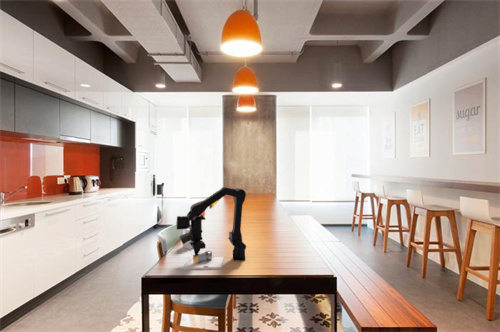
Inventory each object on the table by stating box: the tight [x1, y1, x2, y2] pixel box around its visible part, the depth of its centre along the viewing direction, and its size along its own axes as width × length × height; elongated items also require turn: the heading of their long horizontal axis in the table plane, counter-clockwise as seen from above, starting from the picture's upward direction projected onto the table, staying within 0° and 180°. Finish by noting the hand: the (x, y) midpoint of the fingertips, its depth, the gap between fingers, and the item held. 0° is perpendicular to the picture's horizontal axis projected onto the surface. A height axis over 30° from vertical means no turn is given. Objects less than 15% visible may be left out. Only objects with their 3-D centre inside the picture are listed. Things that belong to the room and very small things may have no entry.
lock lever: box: [192, 250, 213, 264], centre depth 154 cm, size 10×4×4 cm, turn 128°
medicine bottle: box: [182, 227, 193, 250], centre depth 182 cm, size 7×7×12 cm
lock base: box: [182, 256, 224, 271], centre depth 153 cm, size 20×14×1 cm
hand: (196, 256), depth 153 cm, fingers closed
